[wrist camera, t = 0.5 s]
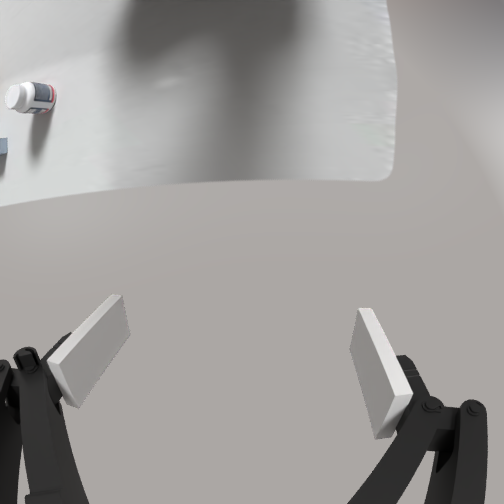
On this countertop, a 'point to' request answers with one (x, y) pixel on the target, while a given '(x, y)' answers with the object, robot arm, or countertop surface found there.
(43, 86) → the pill bottle
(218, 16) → the countertop surface
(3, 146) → the blue and cream block
